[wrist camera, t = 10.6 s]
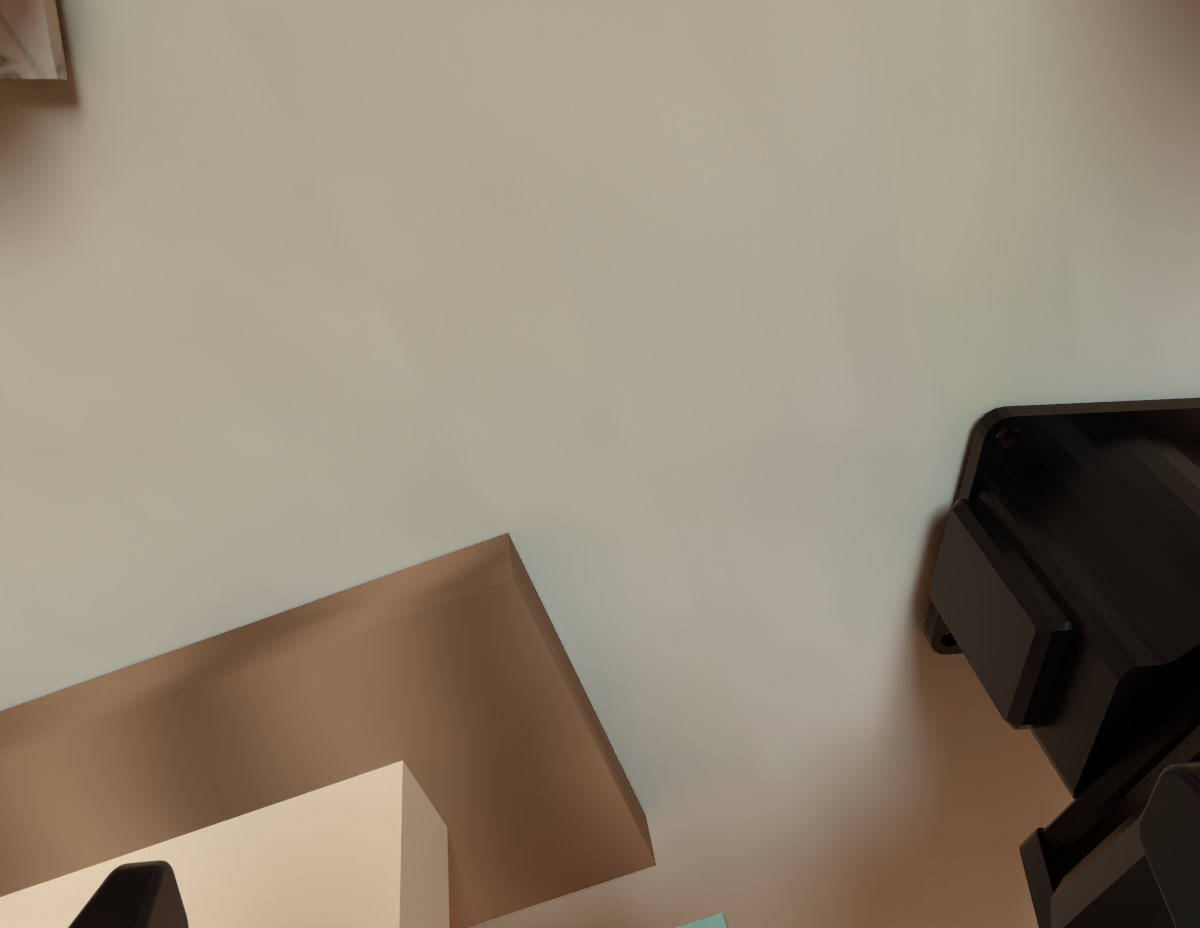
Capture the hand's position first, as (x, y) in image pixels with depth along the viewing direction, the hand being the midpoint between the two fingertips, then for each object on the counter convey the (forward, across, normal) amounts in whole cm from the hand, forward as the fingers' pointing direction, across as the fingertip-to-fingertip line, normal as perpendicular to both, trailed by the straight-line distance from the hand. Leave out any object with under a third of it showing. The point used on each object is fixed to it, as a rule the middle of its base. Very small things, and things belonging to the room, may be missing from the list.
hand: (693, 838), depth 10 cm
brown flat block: (+12, +6, +13) cm, 19 cm away
